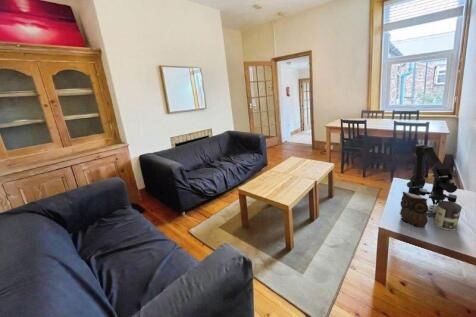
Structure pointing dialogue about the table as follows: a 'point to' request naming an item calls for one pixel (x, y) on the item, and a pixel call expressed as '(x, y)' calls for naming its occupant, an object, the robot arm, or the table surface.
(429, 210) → the panel
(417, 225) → the owl
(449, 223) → the coffee can
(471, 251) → the table surface
